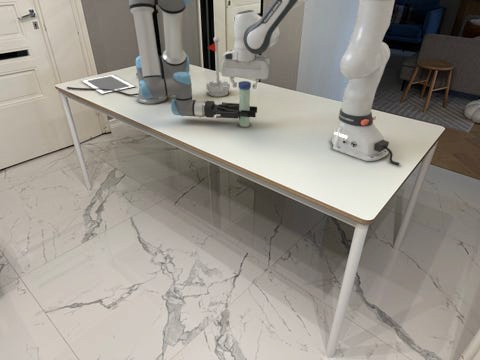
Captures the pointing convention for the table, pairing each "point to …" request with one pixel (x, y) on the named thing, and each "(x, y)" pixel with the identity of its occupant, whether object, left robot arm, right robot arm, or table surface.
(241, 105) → the pale green cylinder
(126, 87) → the tablet
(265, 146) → the table surface
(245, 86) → the lid
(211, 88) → the flag stand
